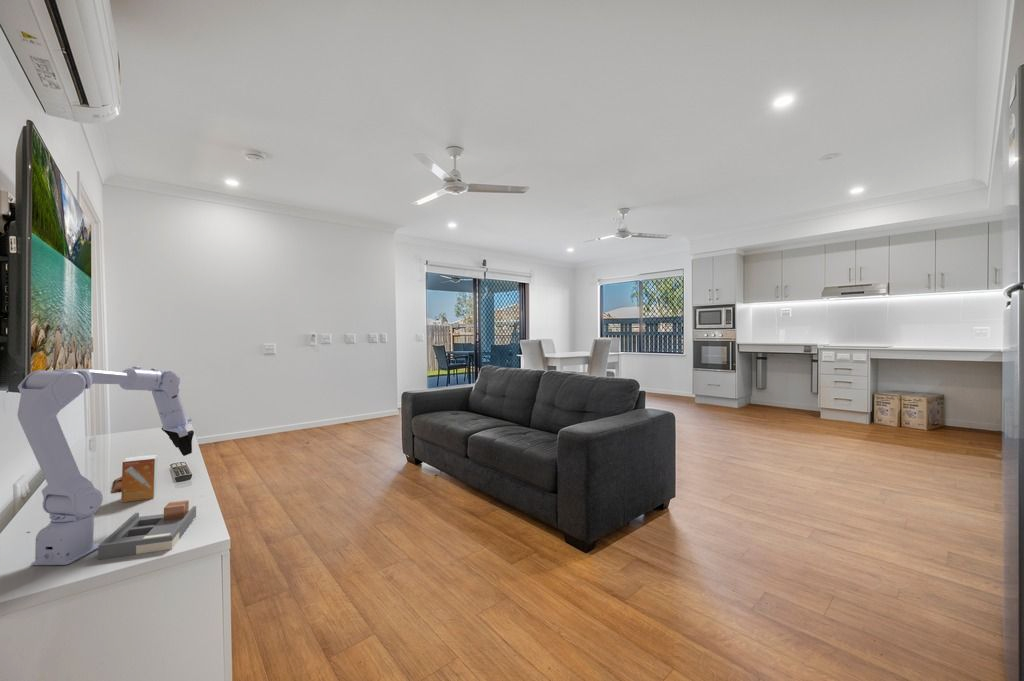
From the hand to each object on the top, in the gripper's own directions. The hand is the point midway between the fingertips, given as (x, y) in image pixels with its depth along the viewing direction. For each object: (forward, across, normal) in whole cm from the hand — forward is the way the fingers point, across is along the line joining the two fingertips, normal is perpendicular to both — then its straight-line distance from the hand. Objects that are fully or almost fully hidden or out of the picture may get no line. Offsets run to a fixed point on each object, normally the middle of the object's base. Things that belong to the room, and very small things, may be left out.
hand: (183, 450), depth 131 cm
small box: (+19, +19, +12) cm, 29 cm away
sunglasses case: (+23, +38, +12) cm, 46 cm away
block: (+12, -14, +8) cm, 20 cm away
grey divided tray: (+12, -18, +14) cm, 26 cm away
